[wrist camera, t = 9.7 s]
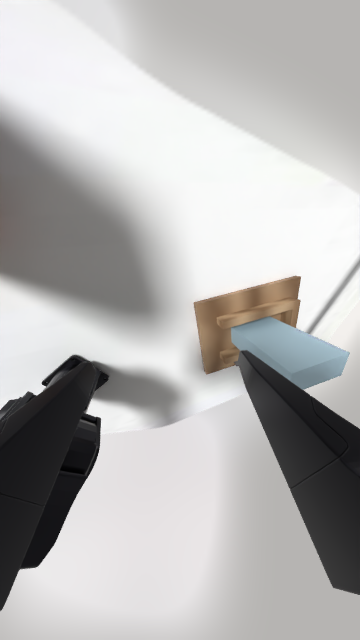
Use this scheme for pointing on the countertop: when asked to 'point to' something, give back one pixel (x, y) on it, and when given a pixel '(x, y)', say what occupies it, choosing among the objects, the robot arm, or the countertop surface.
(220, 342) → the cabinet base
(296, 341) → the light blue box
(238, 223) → the countertop surface
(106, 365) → the countertop surface
